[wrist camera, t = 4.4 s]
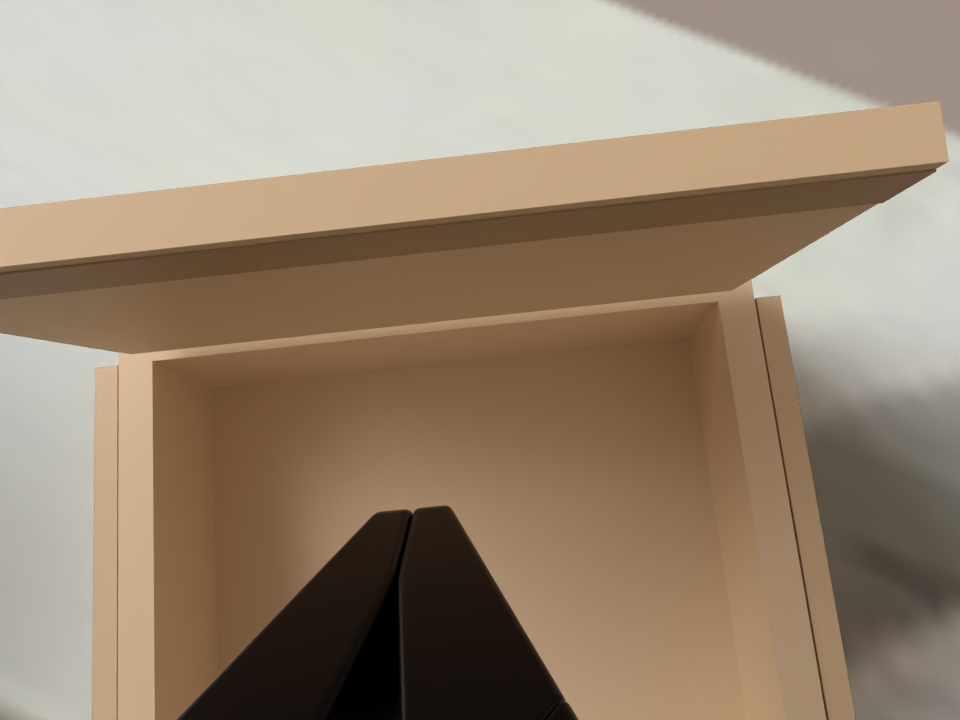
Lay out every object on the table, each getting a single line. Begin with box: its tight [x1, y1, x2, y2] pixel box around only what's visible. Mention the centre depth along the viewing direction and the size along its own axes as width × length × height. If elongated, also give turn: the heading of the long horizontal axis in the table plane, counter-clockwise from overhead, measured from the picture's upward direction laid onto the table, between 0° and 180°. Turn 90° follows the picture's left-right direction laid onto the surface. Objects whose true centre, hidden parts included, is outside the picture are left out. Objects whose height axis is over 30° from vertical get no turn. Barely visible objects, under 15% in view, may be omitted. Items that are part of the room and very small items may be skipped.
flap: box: [0, 101, 949, 354], centre depth 10 cm, size 1×10×7 cm, turn 96°
